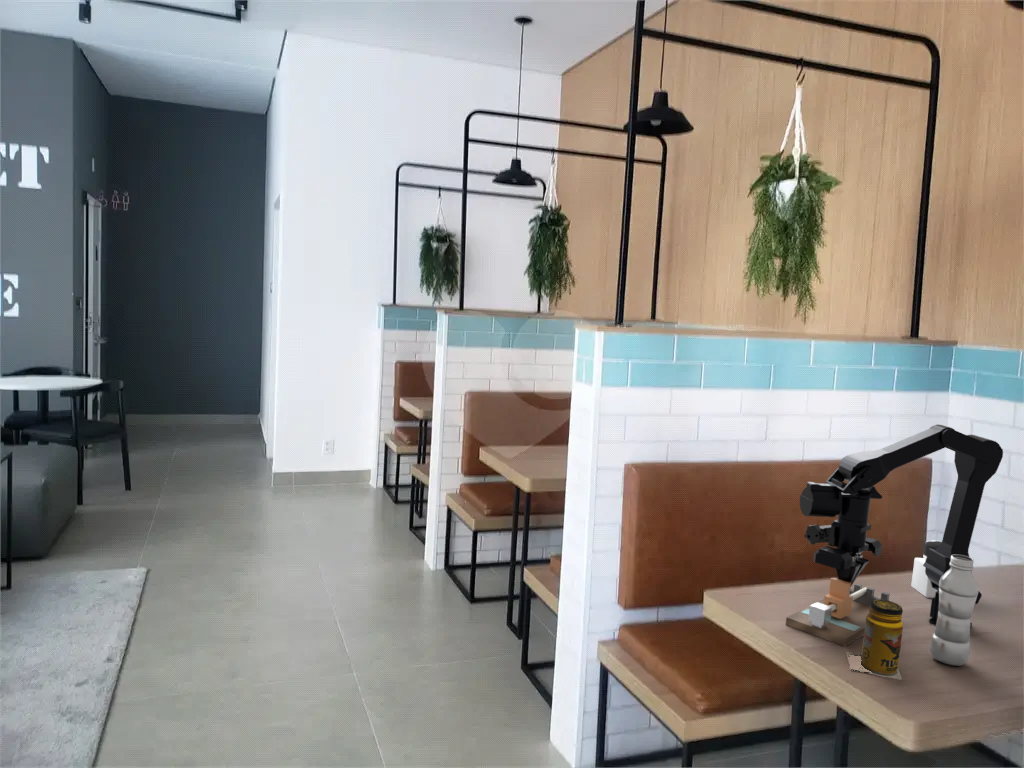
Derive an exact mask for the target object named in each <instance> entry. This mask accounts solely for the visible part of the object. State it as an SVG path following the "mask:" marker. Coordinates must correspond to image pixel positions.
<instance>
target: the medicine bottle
mask: <svg viewBox="0 0 1024 768" xmlns="http://www.w3.org/2000/svg"><path fill="white" fill-rule="evenodd" d="M941 543H942V540H937V539H936V540H935V539H934V540H933V539H932V540H931V539H930V540H927V541H925V542H924V550H923V557H914V561H913V570H912V577H911V583H910V586H911V588H913V589H914V590H916V591H917V592H918V593H920V594H921V595H922V596H923V597H925V598H926V599H927V598H929V599H932V598H934V597H935V593H936V592H937V591H938V590H936V589H934V588H932V586H931V582H930V580H929V579H928V577H927V575H926V573H925V568H926V567H924V566H923V564H924V563H925V561H926V559H927V551H928V549H929V548H931V549H933V550H935V549H936V548H937V547H938V546H939V545H940V544H941Z"/></svg>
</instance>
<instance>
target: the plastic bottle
mask: <svg viewBox="0 0 1024 768" xmlns="http://www.w3.org/2000/svg"><path fill="white" fill-rule="evenodd" d="M949 565H950V566H951V568H950V569H949V570H948V571H947V572H945V573H944V575H943V576H942V577H941V579H940V581H939V611H938V619H937V623H936V624H935V628H934V632H933V633H932V636H931V640H930V643H929V647H930V653H931V655H932V657H933V658H934V659H935V660H937V661H938V662H941V663H943V664H945V665H950V666H955V667H956V666H957V667H959V666H963V665H965V664H966V663H967V662H968V661H969V659H970V658H969V657H970V655H971V644H970V643H971V642H970V632H971V627H970V622H971V621H972V616H973V611H974V608H975V605H976V604H975V602H976V599H977V595H978V591H979V592H980V590H979V589H980V588H979V585H978V582H977V579H976V578H975V576H974V575H973V573H971V571H973V570H974V559H973V557H971V556H969V557H968V556H964V555H958V554H953V555H951V561H950V564H949ZM971 623H972V622H971Z"/></svg>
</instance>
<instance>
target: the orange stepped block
mask: <svg viewBox="0 0 1024 768" xmlns="http://www.w3.org/2000/svg"><path fill="white" fill-rule="evenodd" d="M829 583H830V584H829V591H828V593H827V594H825V595H824V598H823V599H824V605H827V606H829V605H831V604H833V603H834V604H837V609H835V610H834V611H832V612H831V616H833V617H836V618H839V619H841V618H843V617H845V616H847V615H849V614H850V613H851V610H852V601H853V596H851V595H850V589H851V587H852V586H851V583H849V582H846V581H843V580H840V579H838V577H831V578H830V582H829ZM850 586H851V587H850Z"/></svg>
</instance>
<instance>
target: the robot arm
mask: <svg viewBox="0 0 1024 768" xmlns="http://www.w3.org/2000/svg"><path fill="white" fill-rule="evenodd" d="M945 448H946V449H949V450H951V451H953V452H954V465H955V469H956V470H955V471H956V473H957V479H956V485H955V488H954V492H953V496H952V501H951V503H950V508H949V513H948V517H947V520H946V524H945V527H944V532H943V535H942V540H941V541H942V543H941V544H940V545H939V546H938V547H937V548H936V549H935V550H933V549H931V548H929V549H928V551H927V559H926V561H925V563H924V564H923V566H924V567H926V568H925V573H926V575H927V577H928V579H929V580H930V582H931V586H932V588H934V589H936V590H938V591H937V592H936V593H935V597H934V598H931V602H930V611H929V612H930V613H929V617H930V618H929V619H928V622H929V623H931V624H933V625H936V623H937V619H938V611H939V581H940V579H941V577H942V576H943V575H944V573H945V572H947V571H948V570H949V569H950V568H951V566H950V565H949V564H950V561H951V555H953V554H958V555H964V556H968V557H970V554H969V548H970V544H971V540H972V538H973V533H974V528H975V524H976V521H977V517H978V514H979V509H980V506H981V501H982V497H983V493H984V490H985V486H986V483H987V482H988V481H989V480H990V479H991V478H992V477H993V476H994V475H995V474H996V473H997V471H998V470H999V466H1000V464H1001V462H1002V460H1003V457H1004V449H1003V448H1002V447H1001V445H1000V444H999V443H998V442H997V441H996V440H992V439H989V438H985V437H982V436H978V435H976V434H964V433H962V432H960V431H957V430H956V429H955V428H953V427H951V426H946V425H943V424H934V425H932V426H930V427H929V428H928V429H925V430H923V431H920V432H917V433H916V434H914V435H912V436H909V437H906V438H904V439H902V440H899V441H896V442H895V443H893V444H890V445H888V446H887V445H886V446H885V447H882V448H880V449H875V450H865V451H860V452H855V453H852V454H847V455H846V456H843V457H842V458H841V460H840V462H839V464H838V467H837V468H836V469H835V470H834V471H833V473H832V474H831V475H830V476H829V477H828V478H827V480H825V483H818V482H813V481H807V482H806V487H804V488H803V489H802V492H801V494H800V496H799V507H800V511H801V513H802V514H803V516H804V517H819V518H820V517H821V518H835V517H836V516H837V519H835V520H832V521H831V524H827V525H825V524H824V525H819V524H809V525H807V527H806V529H805V534H804V536H803V537H804V538H805V539H807V541H808V543H809V545H816V544H824V543H827V545H826V546H823V547H821V548H819V549H816V550H815V551H814V554H813V562H814V563H816V564H819V565H823V566H826V567H829V568H832V569H835V571H836V574H837V579H840V580H843V581H846V582H849V583H851V586H850V588H851V587H853V586H852V585H854V583H855V581H856V580H857V578H858V577H859V575H860V574H861V572H862V571H863V570H864V569H865V567H866V565H867V564H868V563H869V562H870V560H869V559H868V558H867V559H866V558H863V554H862V553H864V552H866V551H867V552H868V551H869V552H872V553H871V554H872V555H873V556H874V557H877V556H880V555H882V549H883V544H882V543H881V542H880V541H879V539H877V538H876V539H875V538H872V537H869V536H867V534H868V533H867V532H869V531H871V529H872V524H870V523H869V515H870V510H871V509H870V507H871V500H872V499H875V500H880V499H882V498H883V495H882V494H881V493H880V492H879V491H878V490H877V489H876V487H875V485H877V484H879V483H880V482H882V481H883V480H885V479H886V477H888V475H889V474H890V473H891V472H892V471H894V470H895V469H898V468H900V467H903V466H905V465H908V464H909V463H912V462H914V461H917V460H919V459H921V458H922V459H923V458H924V457H926V456H928V455H931V454H934V453H936V452H939V451H941V450H943V449H945ZM844 481H845V482H844ZM846 482H848V483H846ZM972 571H973V570H972ZM972 571H971V573H972ZM972 574H973V573H972ZM982 596H983V595H982V593H981V592H980V590H979V591H978V595H977V599H976V602H975V605H977V604H978V603H979V602H980V600H981V598H982ZM972 626H973V623H972V622H970V628H971V627H972Z"/></svg>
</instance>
